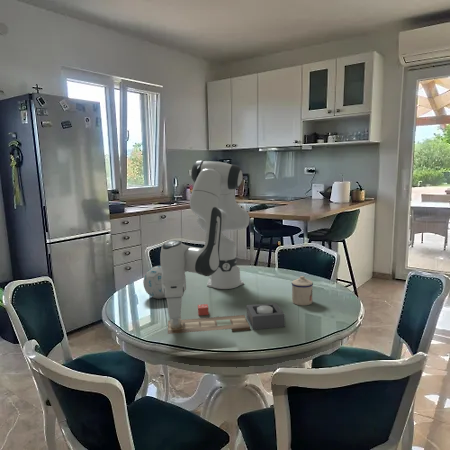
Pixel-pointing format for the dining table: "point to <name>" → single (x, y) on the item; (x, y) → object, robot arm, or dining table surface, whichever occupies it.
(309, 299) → the teacup with lid
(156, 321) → the dining table surface
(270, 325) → the dome housing
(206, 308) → the die
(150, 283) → the puzzle ball
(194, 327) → the board
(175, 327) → the pawn
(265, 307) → the push dome
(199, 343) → the dining table surface
